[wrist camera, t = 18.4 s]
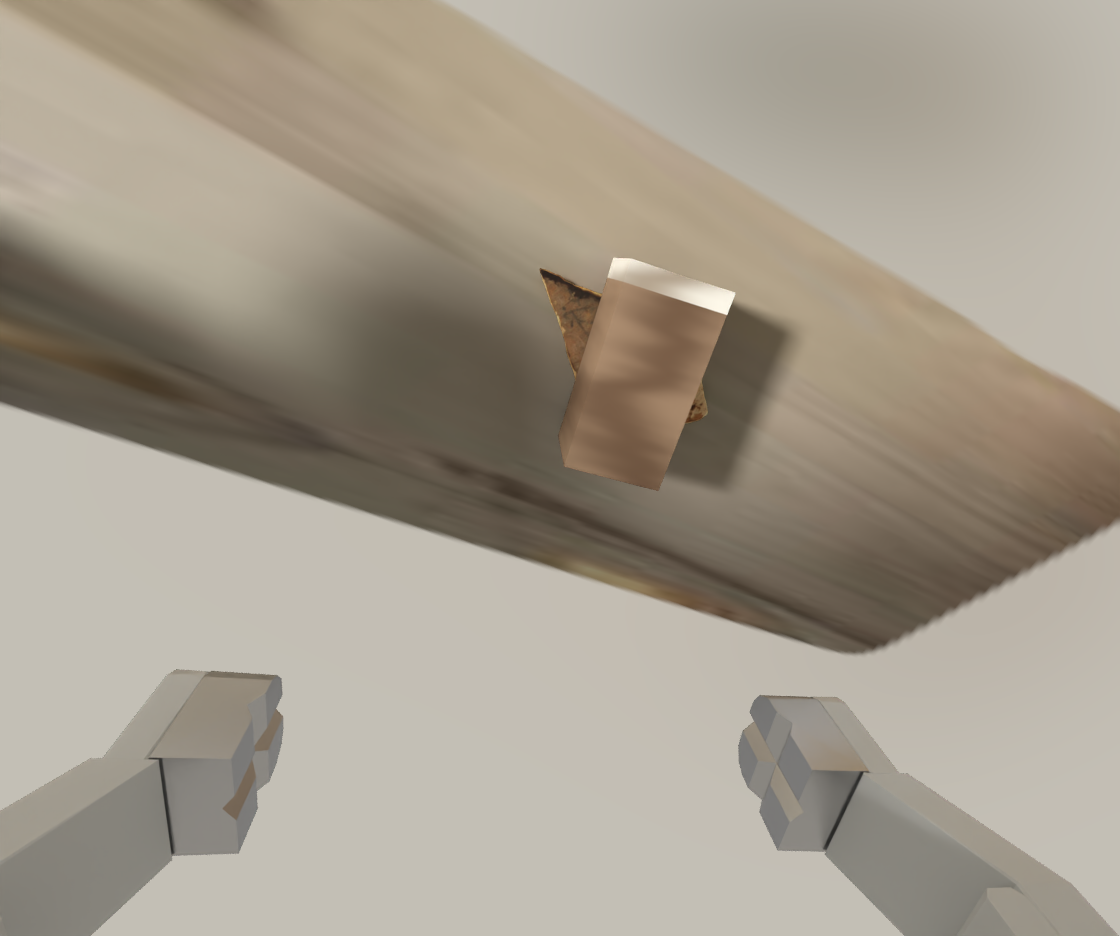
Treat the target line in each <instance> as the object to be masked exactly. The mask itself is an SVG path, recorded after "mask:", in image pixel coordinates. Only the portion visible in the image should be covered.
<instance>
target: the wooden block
mask: <svg viewBox="0 0 1120 936" xmlns="http://www.w3.org/2000/svg"><path fill="white" fill-rule="evenodd" d="M735 294H736V293H734V292H731V291H728V290H725V289H722V288H719V287H716V286H713V285H710V284H707V283H704V282H701V281H698V280H695V279H692V278H689V277H686V276H683V275H680V274H677V273H674V272H671V271H668V270H664V269H661V268H658V267H655V266H652V265H649V264H646V263H643V262H640V261H637V260H634V259H630V258H613V261H612V264H611V268H610V271H609V274H608V277H607V280H606V284H605V287H604V290H603V293H602V296H601V300H600V303H599V306H598V309H597V312H596V316H595V319H594V322H593V325H592V329H591V332H590V335H589V338H588V341H587V345H586V348H585V351H584V354H583V357H582V361H581V364H580V367H579V370H578V373H577V377H576V380H575V383H574V386H573V390H572V393H571V396H570V399H569V402H568V406H567V409H566V412H565V415H564V418H563V422H562V425H561V428H560V431H559V435H558V437H559V442H560V448H561V453H562V458H563V463H564V467H568V468H571V469H575V470H579V471H583V472H587V473H591V474H595V475H598V476H602V477H606V478H610V479H614V480H618V481H622V482H626V483H629V484H633V485H637V486H641V487H645V488H649V489H653V490H656V491H659V488H660V486H661V483H662V481H663V478H664V475H665V473H666V470H667V468H668V465H669V463H670V460H671V457H672V455H673V452H674V450H675V447H676V445H677V442H678V440H679V437H680V434H681V432H682V429H683V427H684V424H685V422H686V419H687V416H688V414H689V411H690V409H691V406H692V404H693V401H694V399H695V396H696V393H697V391H698V388H699V386H700V383H701V381H702V378H703V375H704V373H705V370H706V368H707V365H708V363H709V360H710V358H711V355H712V352H713V350H714V347H715V345H716V342H717V340H718V337H719V335H720V332H721V329H722V327H723V324H724V322H725V319H726V317H727V314H728V311H729V309H730V306H731V304H732V301H733V299H734V296H735Z"/></svg>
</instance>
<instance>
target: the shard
mask: <svg viewBox="0 0 1120 936" xmlns="http://www.w3.org/2000/svg"><path fill="white" fill-rule="evenodd" d="M540 273H541V276H542V280H543V283H544V285H545V287H546V291H547V294H548V297H549V300H550V303H551V305H552V307H553V309H554V311H555V314H556V316H557V319H558V323H559V325H560V328H561V331H562V334H563V337H564V341H565V344H566V351H567V355H568V358H569V361H570V365H571V367H572V369H573V372H574V376H575V380H576V377H577V373H578V370H579V367H580V364H581V361H582V357H583V354H584V351H585V348H586V345H587V341H588V338H589V335H590V332H591V329H592V325H593V322H594V319H595V316H596V312H597V309H598V306H599V303H600V300H601V296H602V294H600V293H597V292H594V291H591V290H589V289H586V288H583V287H580V286H576V285H574V284H572V283H570V282H568V281H565V280H564V279H563V278H562V277H561V276H560V275H557V274H554V273H552V272H550V271H548V270H545V269H541V268H540ZM707 413H708V410H707V404H706V400H705V398H704V391H703V385H702V381H701V383H700V386H699V388H698V391H697V393H696V396H695V399H694V401H693V404H692V406H691V409H690V411H689V414H688V416H687V419H686V422H685V424H686V423H691V422H695V421H698V420H701V419H702V418H703V417H704V416H706V415H707Z"/></svg>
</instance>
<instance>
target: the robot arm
mask: <svg viewBox="0 0 1120 936" xmlns="http://www.w3.org/2000/svg"><path fill="white" fill-rule="evenodd" d="M281 697H282V681H281V678H280V677H279V676H277V675H265V674H249V673H234V672H219V671H211V672H206V671H192V670H179V669H176V670H174V671H173V672H171V673H170V674H168V675H167V676H165V678H164V679H163V680H162V682H161V683H160V684H159V686H158V687H157V688H156V689H155V691H154V692H153V693H152V694H151V696H150V697H149V699H148V700H147V701H146V702H145V704H144V705H143V706H142V707H141V709H140V710H139V711H138V713H137V714H136V715H135V716H134V718H133V719H132V720H131V722H130V723H129V724H128V726H127V727H126V728H125V729H124V731H123V732H122V733H121V735H120V736H119V737H118V739H117V740H116V741H115V742H114V744H113V745H112V746H111V748H110V749H109V750H108V751H107V753H106V754H105V755H104V757H103V758H90V759H88V760H87V761H85V762H83V763H81V764H80V765H78V766H77V767H75V768H73V769H71V770H69V771H68V772H66V773H64V774H63V775H61V776H59V777H57V778H56V779H54V780H52V781H51V782H49V783H47V784H45V785H44V786H42V787H40V788H39V789H37V790H35V791H33V792H32V793H30V794H28V795H27V796H25V797H23V798H21V799H20V800H18V801H16V802H15V803H13V804H11V805H9V806H8V807H6V808H4V809H3V810H1V811H0V936H91V935H92V934H93V933H94V932H95V931H96V930H97V929H98V928H99V927H101V926H102V925H103V924H104V923H105V922H106V921H107V920H108V919H109V918H110V917H111V916H112V915H113V914H114V913H116V912H117V911H118V910H119V909H120V908H121V907H122V906H123V905H124V904H125V903H126V902H127V901H128V900H129V899H131V898H132V897H133V896H134V895H135V894H136V893H137V892H138V891H139V890H140V889H141V888H142V887H143V886H145V885H146V883H148V882H149V881H150V880H151V879H152V878H153V877H154V876H155V875H156V874H157V873H158V872H160V870H162V869H163V868H164V867H165V866H166V865H167V864H168V863H169V862H170V861H171V860H172V856H177V855H178V856H179V855H204V854H205V855H207V854H236V853H239V851H240V849H241V846H242V844H243V842H244V839H245V837H246V835H247V832H248V830H249V827H250V825H251V823H252V821H253V818H254V816H255V814H256V811H257V808H258V807H257V791H258V790H259V789H260V788H261V787H263V786H264V785H265V784H266V783H268V782H269V781H270V778H271V776H272V773H273V771H274V768H275V765H276V763H277V759H278V755H279V752H280V748H281V744H282V736H283V716H282V715H281V714H280V713H279V712H278V711H277V709H276V707H277V705H278V703H279V701H280V699H281ZM750 714H751V716H752V718H753V720H754V722H753V723H752V724H751V725H749V726H748V727H747V728H746V729H745V730H743V732H742V736H741V739H740V742H739V745H738V746H739V764H740V768H741V772H742V775H743V777H744V780H745V782H746V784H747V786H748V788H749V789H750V790H751V791H752V792H754V793H755V794H756V795H757V796H758V797H759V798H761V799H762V802H761V807H760V814H761V816H762V818H763V820H764V823H765V825H766V827H767V829H768V831H769V833H770V835H771V837H772V839H773V842H774V844H775V846H776V848H777V850H782V851H819V852H826V853H825V855H826V856H827V857H828V858H829V859H830V860H831V861H832V862H833V864H835V866H836V867H837V868H838V869H839V870H840V871H841V872H842V873H844V875H845V876H846V877H847V878H848V879H849V880H850V881H851V882H852V883H853V884H854V885H855V886H856V887H857V888H858V889H859V890H860V891H861V892H862V893H863V894H864V895H865V896H866V897H867V898H868V899H869V900H870V901H871V902H872V903H873V904H874V905H875V906H876V907H877V908H878V909H879V910H880V911H881V912H882V913H883V914H884V915H885V916H886V918H888V919H889V921H891V923H892V924H893V925H894V926H895V927H896V928H897V929H898V930H899V931H900V932H901V933H902V934H903V935H904V936H1118V935H1117V933H1116V932H1115V931H1114V930H1113V929H1112V928H1111V927H1110V926H1109V925H1108V924H1107V922H1106V921H1105V920H1104V919H1103V918H1102V917H1101V916H1100V915H1099V914H1098V913H1097V912H1096V910H1095V909H1094V908H1093V907H1092V906H1091V905H1090V904H1089V903H1088V901H1087V900H1086V899H1085V898H1084V897H1083V896H1082V895H1081V894H1080V893H1079V891H1078V890H1077V889H1076V888H1075V887H1074V886H1073V885H1072V884H1071V883H1069V882H1068V881H1066V880H1065V879H1063V878H1062V877H1060V876H1059V875H1057V874H1056V873H1055V872H1053V871H1051V870H1050V869H1049V868H1047V867H1045V866H1044V865H1043V864H1041V863H1040V862H1038V861H1037V860H1035V859H1034V858H1032V857H1031V856H1029V855H1028V854H1026V853H1025V852H1023V851H1021V850H1020V849H1019V848H1017V847H1016V846H1014V845H1013V844H1011V843H1010V842H1008V841H1007V840H1005V839H1004V838H1002V837H1001V836H1000V835H998V834H996V833H995V832H994V831H992V830H991V829H989V828H988V827H986V826H984V825H983V824H982V823H980V822H979V821H977V820H976V819H974V818H973V817H971V816H970V815H968V814H967V813H965V812H964V811H962V810H961V809H959V808H958V807H956V806H955V805H953V804H952V803H950V802H949V801H947V800H946V799H944V798H943V797H941V796H940V795H939V794H937V793H936V792H934V791H933V790H931V789H930V788H928V787H927V786H925V785H924V784H922V783H921V782H919V781H918V780H916V779H914V778H913V777H912V776H910V775H909V774H901V773H899V772H898V771H897V769H896V768H895V767H894V766H893V764H892V763H891V762H890V760H889V759H888V758H887V756H886V755H885V754H884V753H883V751H882V750H881V749H880V747H879V746H878V745H877V744H876V742H875V741H874V740H873V738H872V737H871V736H870V735H869V733H868V732H867V731H866V729H865V728H864V727H863V725H862V724H861V723H860V722H859V720H858V719H857V718H856V716H855V715H854V714H853V713H852V711H851V710H850V709H849V707H848V706H847V705H846V704H845V703H844V702H843V701H841V700H840V699H839V698H836V697H795V696H765V695H760V696H758V697H757V698H756V699H755V700H754V702H753V705H752V707H751V710H750Z"/></svg>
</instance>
